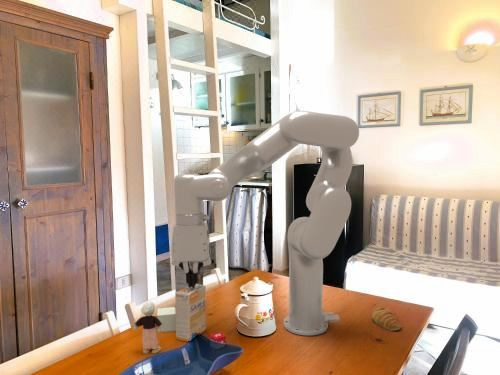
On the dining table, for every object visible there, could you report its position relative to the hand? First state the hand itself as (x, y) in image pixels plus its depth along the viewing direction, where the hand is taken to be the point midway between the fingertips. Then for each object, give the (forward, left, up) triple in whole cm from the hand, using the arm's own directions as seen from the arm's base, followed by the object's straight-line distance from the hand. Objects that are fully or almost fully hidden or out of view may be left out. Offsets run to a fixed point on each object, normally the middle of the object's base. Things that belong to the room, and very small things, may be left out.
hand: (192, 285), depth 102 cm
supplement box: (0, 0, -14) cm, 14 cm away
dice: (-8, +6, -14) cm, 17 cm away
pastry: (-56, -8, -14) cm, 58 cm away
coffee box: (+4, -18, -14) cm, 23 cm away
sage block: (+8, -4, -14) cm, 17 cm away
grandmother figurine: (+10, +9, -14) cm, 19 cm away
